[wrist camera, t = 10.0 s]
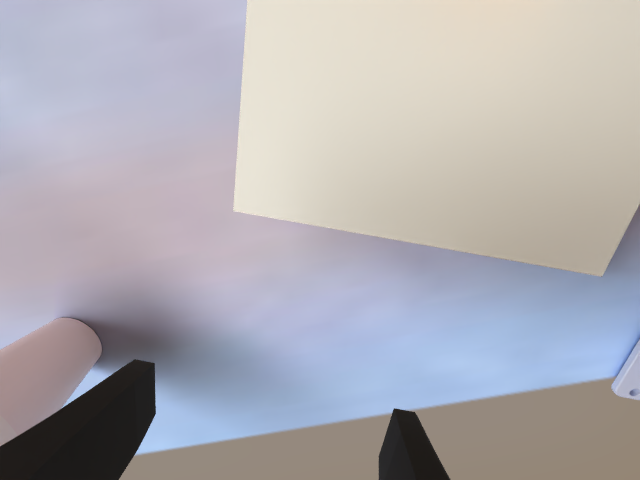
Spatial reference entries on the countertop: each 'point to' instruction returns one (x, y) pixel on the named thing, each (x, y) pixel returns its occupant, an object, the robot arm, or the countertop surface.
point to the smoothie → (43, 373)
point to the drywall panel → (446, 123)
